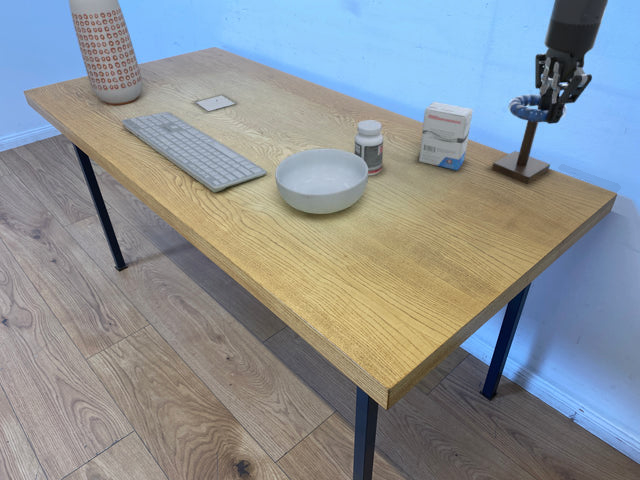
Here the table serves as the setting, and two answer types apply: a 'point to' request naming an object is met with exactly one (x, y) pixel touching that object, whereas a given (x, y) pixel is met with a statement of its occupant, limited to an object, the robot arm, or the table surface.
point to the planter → (106, 50)
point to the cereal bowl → (322, 180)
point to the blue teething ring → (521, 111)
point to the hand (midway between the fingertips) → (547, 118)
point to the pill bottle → (370, 145)
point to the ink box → (445, 135)
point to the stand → (523, 159)
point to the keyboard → (193, 151)
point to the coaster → (215, 103)
